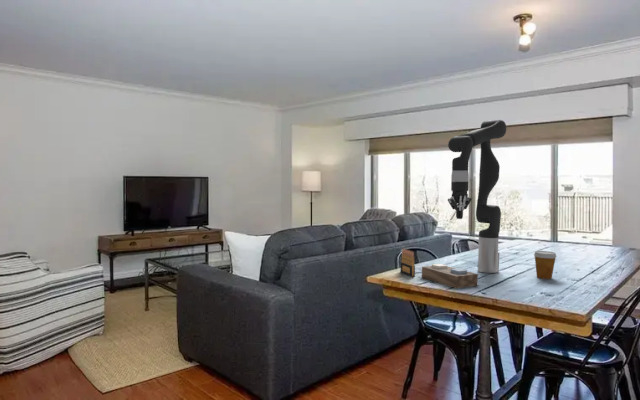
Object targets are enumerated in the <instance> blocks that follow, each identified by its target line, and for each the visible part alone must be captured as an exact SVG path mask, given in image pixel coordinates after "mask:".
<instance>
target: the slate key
mask: <svg viewBox="0 0 640 400" xmlns="http://www.w3.org/2000/svg"><path fill="white" fill-rule="evenodd" d="M467 271H468V270H467V269H463V268H459V267H458V268H456V269H451V273H454V274H458V275H461V274H467Z"/></svg>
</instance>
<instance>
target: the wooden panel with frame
mask: <svg viewBox="0 0 640 400" xmlns="http://www.w3.org/2000/svg"><path fill="white" fill-rule="evenodd" d="M399 271H400V273H401V274H402V275H403V274H404V275H405V276H408V277H410V278H415V277H416V266H415V253H414V250H413V251H412V250H409V249H406V248H404V247H403V248H402V250H401V262H400V270H399Z"/></svg>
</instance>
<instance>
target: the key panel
mask: <svg viewBox="0 0 640 400" xmlns="http://www.w3.org/2000/svg"><path fill="white" fill-rule="evenodd" d="M451 269H457V268H455V267H453V266H448V265H447V269H436V268H432V265H428V266H421V278H422V279H425V280H428V281H432V282H435V283H439V284H441V285H445V286H447V287H448V286H449V287H450V288H454V289H461V288H469V287H477V286H479V285H478V284H479V283H478V279H479V278H478V277H479V274H478V273H475V272H471V271H468V270H467V274H461V275H458V274H454V273H451Z"/></svg>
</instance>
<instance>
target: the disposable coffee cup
mask: <svg viewBox="0 0 640 400" xmlns="http://www.w3.org/2000/svg"><path fill="white" fill-rule="evenodd" d="M533 255H534V260H535V262H534V263H535V271H536V278H538V279H543V280H551V278H553V273H554V268H555V263H556V258H557V254H556V252H553V251H548V250H546V251H545V250H536V251H535V250H534V253H533Z"/></svg>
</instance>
